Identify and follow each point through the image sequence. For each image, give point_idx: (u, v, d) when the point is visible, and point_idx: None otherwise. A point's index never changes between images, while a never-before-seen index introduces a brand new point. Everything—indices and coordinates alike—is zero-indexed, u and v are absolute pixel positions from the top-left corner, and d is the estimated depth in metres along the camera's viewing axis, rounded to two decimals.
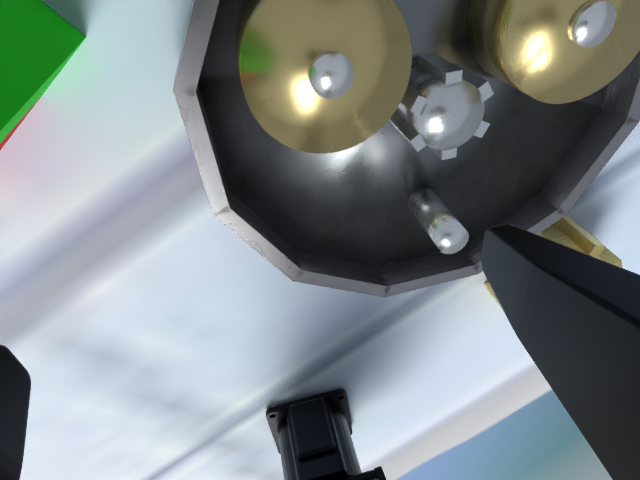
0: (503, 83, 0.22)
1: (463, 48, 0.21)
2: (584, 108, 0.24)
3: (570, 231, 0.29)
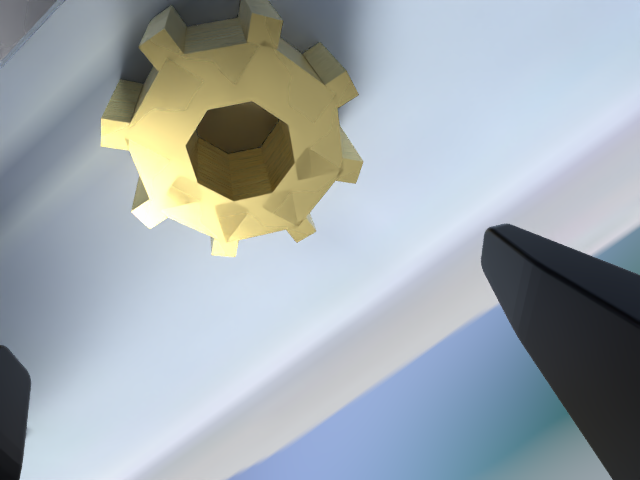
0: None
1: None
2: None
3: (243, 13, 0.13)
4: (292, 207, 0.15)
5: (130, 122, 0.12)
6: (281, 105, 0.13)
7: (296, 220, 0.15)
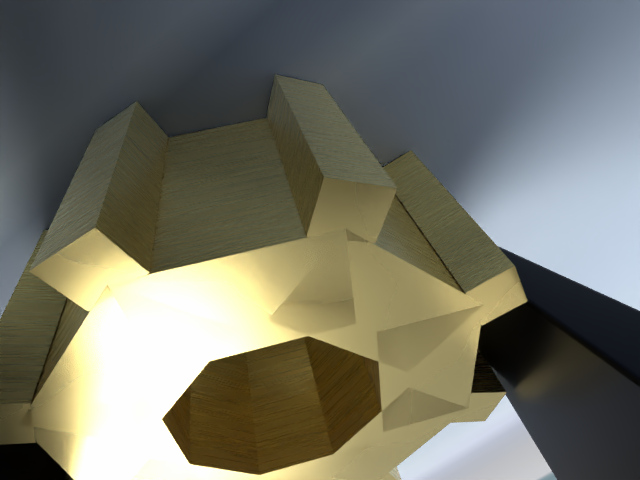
0: None
1: None
2: None
3: (284, 131, 0.06)
4: (367, 465, 0.08)
5: (36, 391, 0.05)
6: (369, 334, 0.06)
7: (371, 478, 0.08)
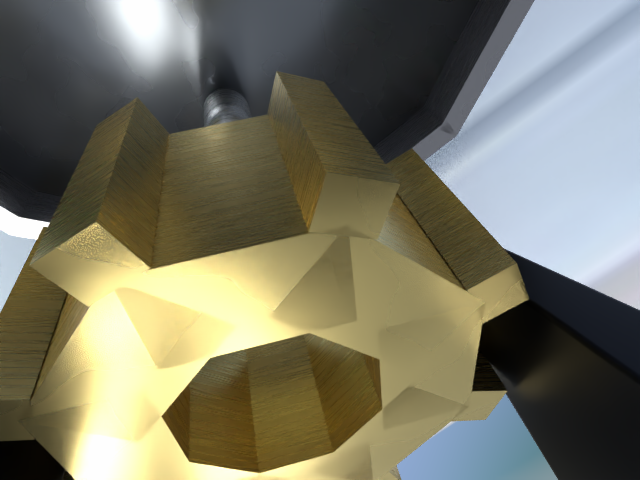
0: None
1: None
2: None
3: (285, 127, 0.06)
4: (367, 464, 0.08)
5: (35, 386, 0.05)
6: (370, 332, 0.06)
7: (371, 477, 0.08)
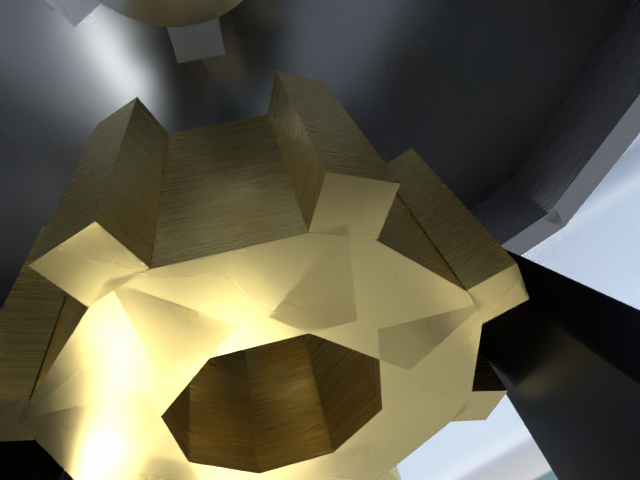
0: None
1: None
2: None
3: (285, 127, 0.06)
4: (367, 464, 0.08)
5: (35, 388, 0.05)
6: (370, 332, 0.06)
7: (371, 477, 0.08)
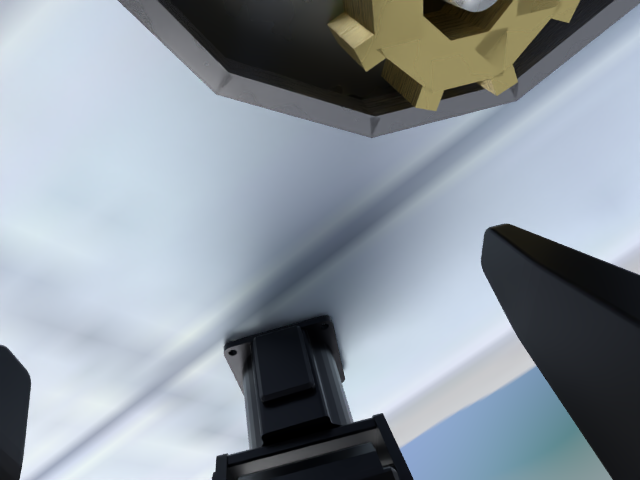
0: None
1: None
2: None
3: None
4: (503, 50, 0.14)
5: None
6: None
7: (503, 67, 0.15)
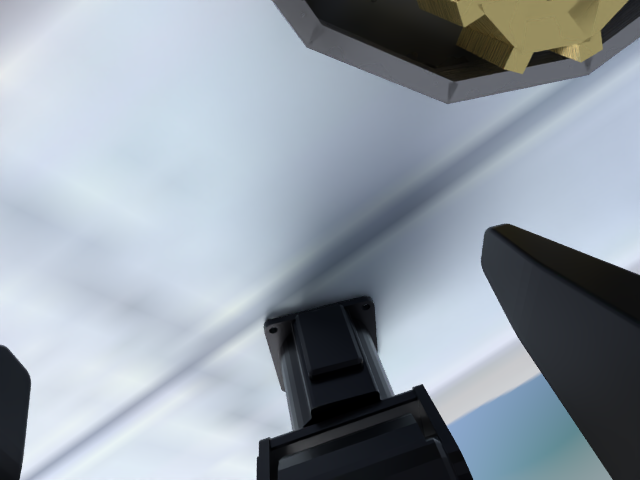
0: None
1: None
2: None
3: None
4: (594, 15, 0.14)
5: None
6: None
7: (591, 33, 0.15)
